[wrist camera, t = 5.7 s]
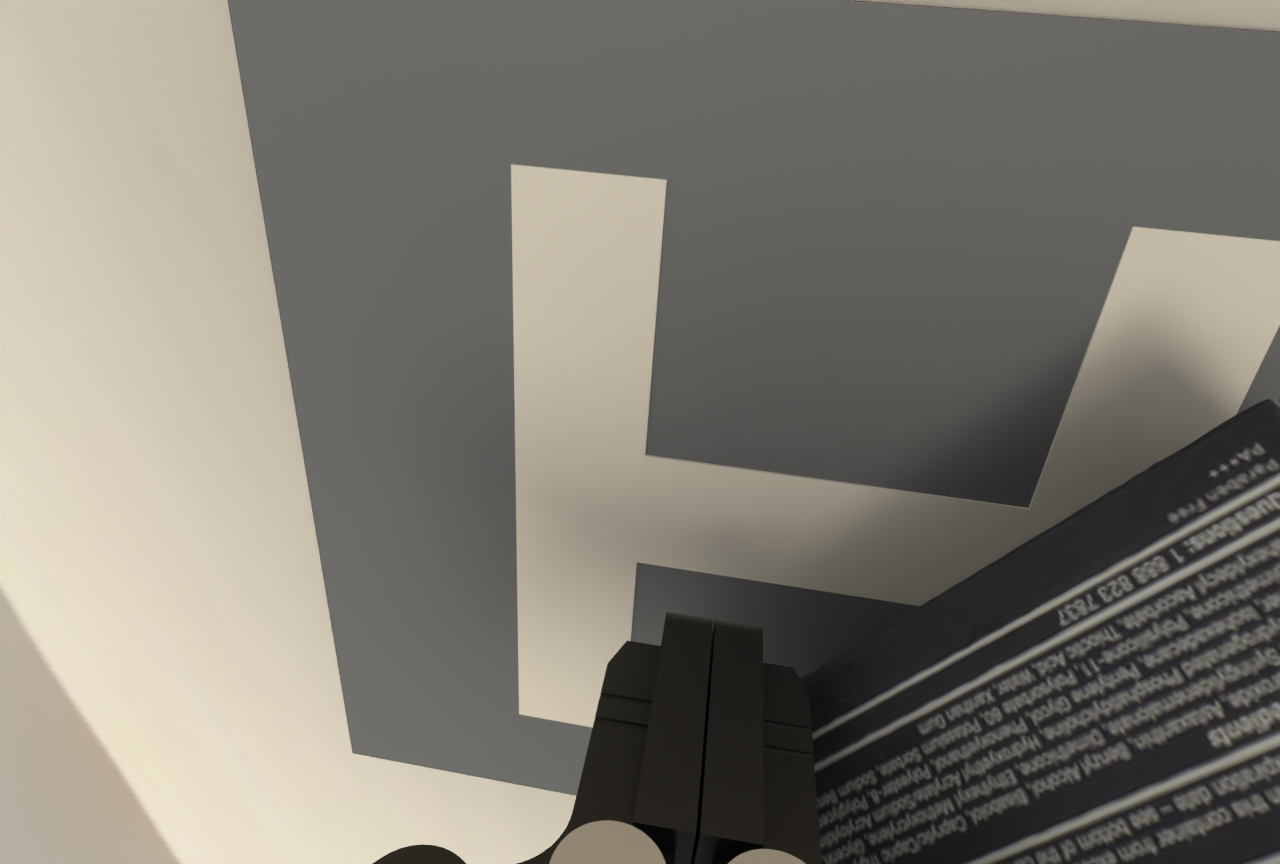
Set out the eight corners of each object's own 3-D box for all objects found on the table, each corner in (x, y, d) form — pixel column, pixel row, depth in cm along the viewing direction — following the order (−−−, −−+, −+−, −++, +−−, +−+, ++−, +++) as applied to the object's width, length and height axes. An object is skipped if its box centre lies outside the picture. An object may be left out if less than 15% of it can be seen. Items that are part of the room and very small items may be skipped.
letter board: (228, -45, 12) (217, -46, 11) (1802, 69, 9) (1826, 71, 9) (356, 746, 20) (351, 754, 20) (1208, 907, 18) (1213, 918, 17)
